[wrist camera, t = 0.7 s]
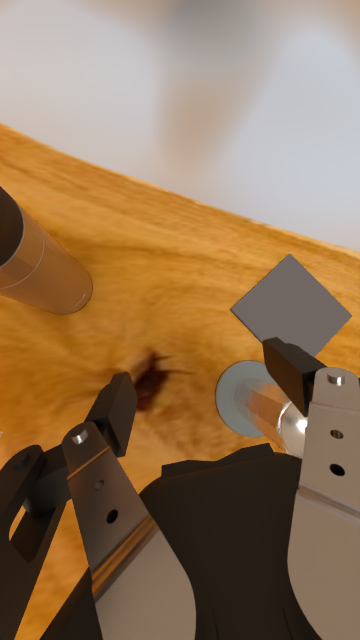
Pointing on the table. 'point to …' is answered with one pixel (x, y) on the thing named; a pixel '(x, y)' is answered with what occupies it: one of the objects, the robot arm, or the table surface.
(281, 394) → the steel canister
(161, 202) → the table surface
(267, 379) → the grey pot lid
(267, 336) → the rubber mat
